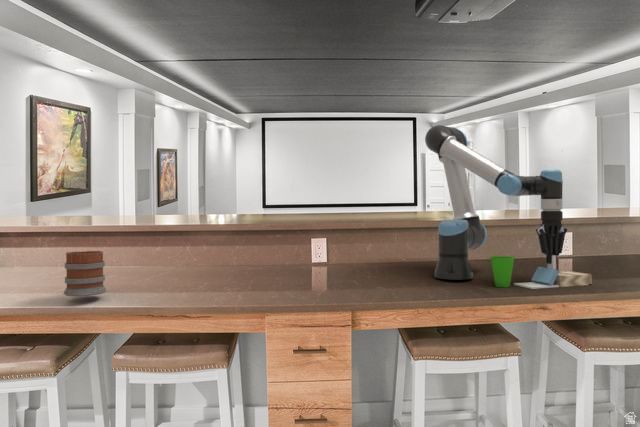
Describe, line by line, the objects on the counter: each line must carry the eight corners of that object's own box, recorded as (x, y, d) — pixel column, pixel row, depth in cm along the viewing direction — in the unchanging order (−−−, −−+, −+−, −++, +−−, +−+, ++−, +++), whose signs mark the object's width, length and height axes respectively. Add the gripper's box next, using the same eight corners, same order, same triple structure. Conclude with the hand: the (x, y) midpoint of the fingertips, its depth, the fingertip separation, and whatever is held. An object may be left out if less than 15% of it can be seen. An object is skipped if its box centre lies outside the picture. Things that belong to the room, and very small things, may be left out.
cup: (488, 287, 185) (488, 257, 185) (491, 283, 194) (490, 255, 194) (514, 288, 182) (514, 258, 182) (515, 285, 190) (515, 256, 190)
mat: (532, 288, 181) (532, 287, 181) (513, 284, 191) (513, 283, 191) (559, 287, 185) (559, 285, 185) (539, 283, 194) (539, 281, 194)
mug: (55, 296, 172) (55, 253, 172) (81, 288, 192) (80, 249, 191) (96, 296, 173) (96, 253, 173) (117, 287, 192) (117, 248, 192)
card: (552, 285, 184) (548, 282, 184) (534, 282, 193) (531, 279, 192) (559, 271, 185) (555, 269, 185) (541, 269, 194) (538, 266, 193)
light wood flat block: (560, 287, 185) (560, 276, 185) (540, 283, 194) (540, 273, 194) (591, 284, 189) (591, 274, 189) (571, 281, 199) (571, 271, 199)
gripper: (545, 210, 184) (545, 274, 184) (573, 210, 188) (573, 272, 188) (530, 210, 191) (530, 271, 191) (557, 210, 195) (558, 270, 195)
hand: (551, 272), depth 190 cm, fingers closed
